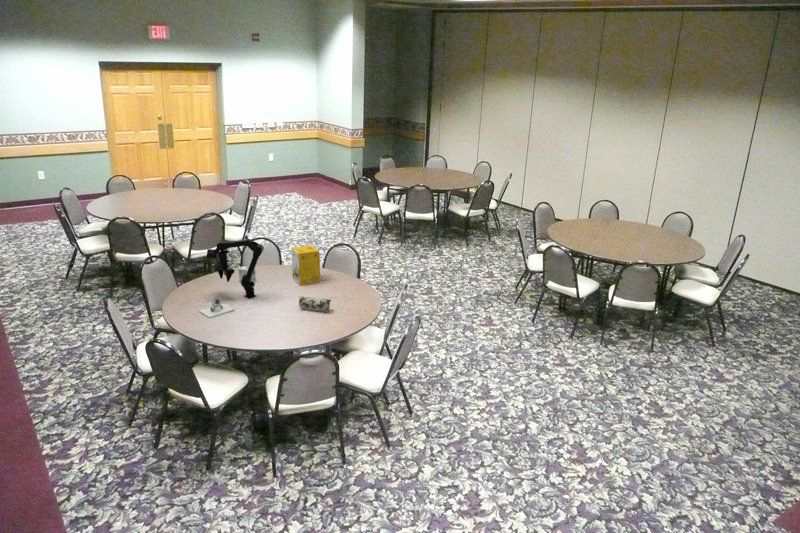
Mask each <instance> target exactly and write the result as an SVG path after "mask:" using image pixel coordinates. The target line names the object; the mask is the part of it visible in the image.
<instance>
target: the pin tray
mask: <svg viewBox="0 0 800 533" xmlns="http://www.w3.org/2000/svg"><path fill="white" fill-rule="evenodd" d="M220 306H221V310H219V311H216V312H215V311H214V308H212V306H210V307H207V308H203V309H200V310H198V313H200V314H201V315H203V316H204V317H206V318H208V319H213V318H215V317H218V316H222V315H225V314H229V313H233V312H235V310H236V309H234V308H233V307H231V306H229V305H227V304H226V303H220Z"/></svg>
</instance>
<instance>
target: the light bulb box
mask: <svg viewBox="0 0 800 533" xmlns="http://www.w3.org/2000/svg"><path fill="white" fill-rule="evenodd" d="M248 269H249V266H240V267H239V268H238V278H239V283H241V280H242V277H243V276H244V274H247V271H248ZM256 278H257V276H256V268H255V269H254V272H253V274H252V281H253V282H254V283H255V282H256V280H257V279H256Z"/></svg>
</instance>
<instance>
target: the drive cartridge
mask: <svg viewBox="0 0 800 533" xmlns="http://www.w3.org/2000/svg"><path fill="white" fill-rule="evenodd" d="M210 297H211V307H212V308H214V311H215V312H216V311H219V310H221V306H220V304H221V297H220V295H219V294H214V295H211V296H210Z"/></svg>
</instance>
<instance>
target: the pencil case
mask: <svg viewBox="0 0 800 533" xmlns="http://www.w3.org/2000/svg"><path fill="white" fill-rule="evenodd" d="M330 302H332V300H331V299H329V298H318V297H317V298H316V297H310V296H309V297H307V296H305V295H301V294H300V295H298V306H299V308H301V309H303V310H308V311H315V312H323V313H329V312H330V308H331V303H330Z"/></svg>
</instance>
